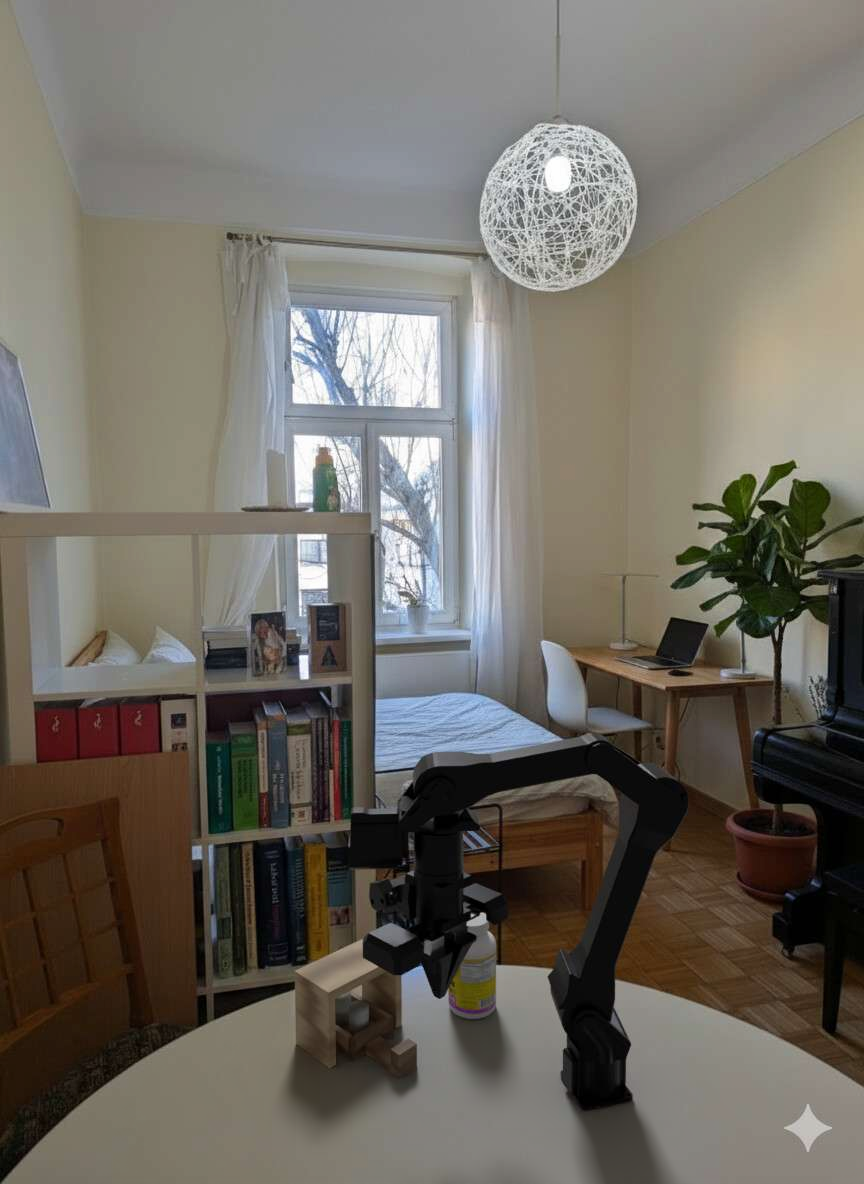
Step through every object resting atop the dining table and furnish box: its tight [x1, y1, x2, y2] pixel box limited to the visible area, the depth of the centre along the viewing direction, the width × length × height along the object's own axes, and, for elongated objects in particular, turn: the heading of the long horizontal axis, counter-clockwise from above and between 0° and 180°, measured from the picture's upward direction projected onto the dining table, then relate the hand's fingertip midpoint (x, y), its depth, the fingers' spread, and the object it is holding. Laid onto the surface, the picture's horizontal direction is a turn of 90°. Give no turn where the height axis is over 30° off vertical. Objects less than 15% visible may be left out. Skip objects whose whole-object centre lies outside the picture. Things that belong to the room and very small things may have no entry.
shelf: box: [294, 938, 403, 1069], centre depth 105 cm, size 7×12×10 cm, turn 135°
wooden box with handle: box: [335, 990, 418, 1080], centre depth 103 cm, size 16×7×5 cm, turn 46°
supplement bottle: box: [447, 912, 497, 1020], centre depth 110 cm, size 7×7×13 cm
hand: (439, 996), depth 93 cm, fingers closed
